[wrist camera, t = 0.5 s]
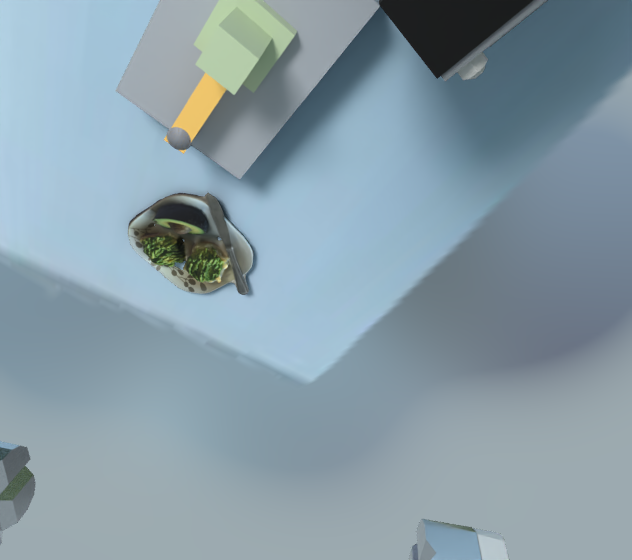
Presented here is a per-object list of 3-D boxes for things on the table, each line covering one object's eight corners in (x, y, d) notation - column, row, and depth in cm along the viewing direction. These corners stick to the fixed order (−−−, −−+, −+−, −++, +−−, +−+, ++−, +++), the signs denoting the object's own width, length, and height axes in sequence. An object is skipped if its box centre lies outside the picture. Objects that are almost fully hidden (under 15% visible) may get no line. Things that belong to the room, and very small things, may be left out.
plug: (243, -32, 45) (211, -5, 37) (301, 21, 47) (283, 57, 40) (207, 30, 49) (171, 66, 41) (262, 76, 51) (239, 118, 44)
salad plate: (288, 267, 73) (283, 288, 69) (205, 306, 81) (197, 326, 78) (201, 170, 63) (190, 189, 60) (116, 225, 71) (103, 244, 68)
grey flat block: (244, -144, 41) (230, -143, 37) (381, -7, 46) (380, 6, 43) (133, 74, 55) (115, 90, 51) (249, 159, 60) (239, 179, 57)
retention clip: (222, 46, 47) (213, 57, 44) (244, 64, 48) (237, 75, 45) (172, 126, 53) (162, 139, 51) (193, 141, 54) (183, 154, 52)
